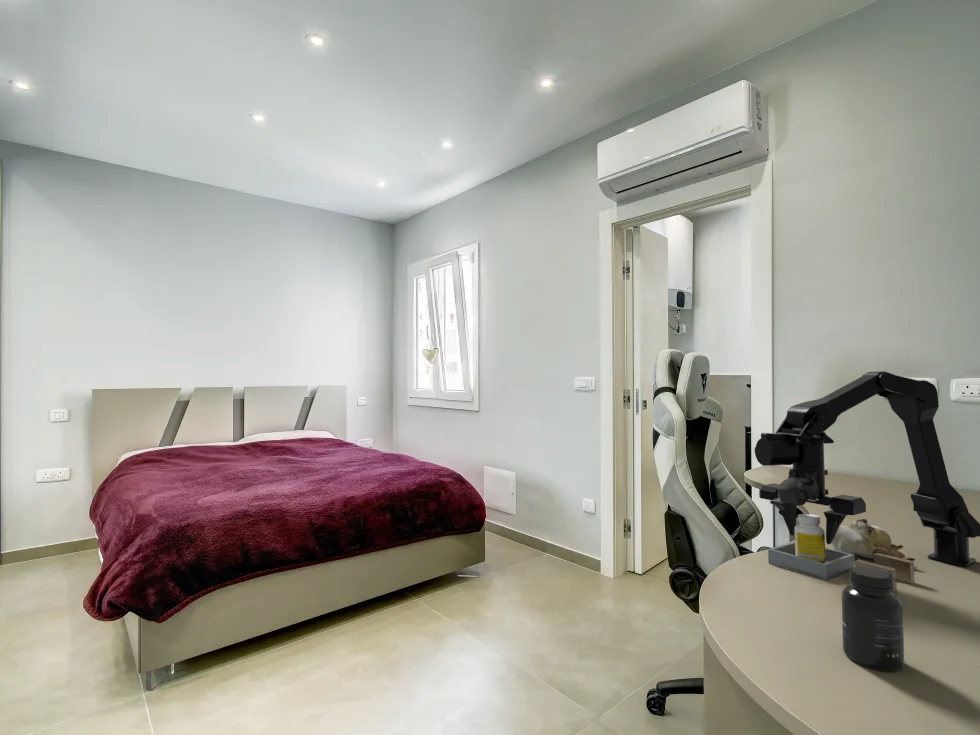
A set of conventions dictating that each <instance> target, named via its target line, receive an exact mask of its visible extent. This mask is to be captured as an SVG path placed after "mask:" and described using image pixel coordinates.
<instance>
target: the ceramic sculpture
mask: <svg viewBox="0 0 980 735" xmlns="http://www.w3.org/2000/svg"><path fill="white" fill-rule="evenodd" d="M831 545H832V547H833V550H837V551H841V552H845V553H849V554H853V555H857V556H860V557H862V558H865V559H869V560H874V554H875V553H881V554H885V555H889V556H893V557H897V558H902V559H906V560H910V561H914V562H915V560H916V559H915V558H914V557H910V556H906V555H905V554H904V553H903V552H901V551H899V550H901V549H902V550H903V549H904V546H903V545H902V544H901V545H900V544H895V543H892V539H891V536H890V534H889V533H888V532H887V531H886V530H885V529H883V528H882V527H880V526H878V525H872V524H869V522H868V520H867V519H865V518H861V519H856V520H853V521H851V523H850V524H847V525H843V524H841V525H840V526H839V528H838V530H837V533H836V535H835V537H834V539H833V541H832V543H831Z"/></svg>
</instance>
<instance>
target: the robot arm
mask: <svg viewBox="0 0 980 735" xmlns="http://www.w3.org/2000/svg"><path fill="white" fill-rule="evenodd" d="M874 396H878V397H881V398H884V399H886V400H887V401H888V403H889V406H890V408H891V410H892V411H893V413H895V415H896V416H897V417H898V418H899V419H900V420H901V421H902V422H903V424H904V428H905V432H906V436H907V439H908V443H909V448H910V451H911V455H912V459H913V463H914V465H915V470H916V474H917V478H918V481H919V486H918V488H917V490H916V492H915V493H910V498H911V501H912V505H913V508H912V510H913V512H915V513H917V516H918V517H919V520H920V521H921V525H922V526H923V527H925V528H930V529H933V530H932V532H933V553H930V554H928V555H927V558H928V559H931V560H936V561H939V562H945V563H948V564H952V565H958V566H962V567H968V566H970V565H972V564H973V563H976V562H977V559H976V558H973V557H970V538H971V539H972V538H973V539H975V538H976V537H980V522H979V521H978V520H977V519H976V518H975V517H974V516H973V515H972V514H971V513H970V512H969V509H968V506H967V503H966V502H965V500H964V498H963V496H962V495H961V494H960V493H959V492H958V491H957V490H956V489H955V488H954V486H953V485H952V484H951V483H950V480H949V476H948V471H947V468H946V464H945V461H944V460H945V459H944V457H943V453H942V449H941V445H940V441H939V437H938V433H937V430H936V427H935V422H934V418H935V416H936V413H937V411H938V409H939V407H940V406H939V404H940V403H939V395H938V389H937V388H936V385H935V384H933V383H932V382H930V381H928V380H925V379H922V380H921V379H920V380H917V379H912V378H910V377H904V376H900V375H896V374H894V373H890V372H889V371H883V370H882V371H881V370H879V371H867V372H866V373H864V374H862V375H861V376H860V377H858V378H856V379H855V380H852V381H851V382H848V383H846V384H845V385H843V386H841V387H840V388H838V389H836V390H834V391H832V392H831V393H829V394H827V395H824V396H823V397H820V398H818V399H814V400H807V401H804V402H800V403H797V404H794V405H792V406H791V407H789V408H788V409H787V411H786V416H785V417H784V419H783V420H782V422H781V423H780V425H779V426H778V428H777V430H776V431H775V433H771V432H770V433H769V432H761V433H760V438H759V439H758V440H757V441H756V444H755V447H754V456H755V459H756V461H757V462H758V463H759V464H760V465H762V466H764V467H766V466H769V467H771V466H774V467H775V466H792V468H790V469H789V471H788V477H787V479H784V480H783V481H782V482H780V483H778V484H777V483H769V484H763V485H761V486H760V488H759V490H758V494H759V496H758V497H759V499H763V500H768V501H769V504H771V505H774V506H775V507H776V508H777V509H778V510H779V512H780V514H781V515H782V518H783V519H784V523H785V525H786V528H787V530H788V532H789V534H790V536H795V526H796V525H797V506H798V507H799V506H804V505H806V503H810V504H816V505H821V506H826V507H828V510H827V511H824V512H823V515H824V517H825V519H826V520H825V543H826V544H827V545H832V541H833V539H834V537H835V535H836V533H837V530H838V528H839V526H840V525H842V523H843V522H844V520H845V518H846V517H847V516H857V515H860V514H863V513H866V512H867V508H866V507H867V505H866V504H867V503H866V501H865V500H864V499H863V497H860V496H853V495H848V494H840V495H836V496H829V489H826V477H825V476H828V475H829V472H828V469H825V444H827V445H828V444H834V442H835V441H834V439H832V438H831V437H830V436H829V435H828V434H827V433H826V431H827V430H828V429H829V428H831V427H832V426H833V425H834V424H836V422H837V420H838V418H839V416H840V415H842V414H844V413H845V412H847V411H849V410H850V409H852V408H854V407H856V406H858V405H860V404H861V403H864V402H865V401H867V400H869V399H871V398H872V397H874Z"/></svg>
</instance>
